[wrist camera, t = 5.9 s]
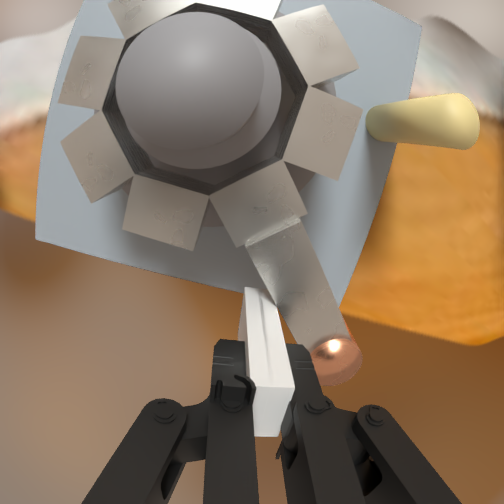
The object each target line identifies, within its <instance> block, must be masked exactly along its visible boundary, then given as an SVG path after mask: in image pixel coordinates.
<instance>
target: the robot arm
mask: <svg viewBox="0 0 504 504" xmlns="http://www.w3.org/2000/svg"><path fill="white" fill-rule="evenodd" d="M280 430H281V433H282V441H281V444H280V446H279V449H278V451H277V453H276V459H279V457H280V455H281V461H282V467H283V475H284V482H285V489H286V496H287V503H288V504H462V503H461V502H460V501H459V500H458V498H457V497H456V496H455V495H454V493H453V492H452V491H451V490H450V488H449V487H448V486H447V485H446V483H445V482H444V481H443V480H442V478H441V477H440V476H439V474H438V473H437V472H436V471H435V469H434V468H433V467H432V466H431V464H430V463H429V462H428V461H427V460H426V458H425V457H424V456H423V454H422V453H421V452H420V451H419V449H418V448H417V447H416V446H415V444H414V443H413V442H412V441H411V440H410V438H409V437H408V436H407V434H406V433H405V432H404V431H403V429H402V428H401V427H400V426H399V424H398V423H397V422H396V421H395V419H394V418H393V417H392V416H391V414H390V413H389V412H388V411H387V410H386V409H384V408H382V407H380V406H377V405H365V406H363V407H361V408H360V409H359V411H358V412H357V413H356V412H351V411H346V410H342V409H338V408H336V407H335V406H334V404H333V402H332V401H331V400H330V399H329V398H327V397H326V396H324V395H323V393H322V390H321V386H320V383H319V380H318V377H317V374H316V371H315V367H314V364H313V363H312V358H311V355H310V352H309V351H308V350H307V349H306V348H305V347H304V346H303V345H302V344H285V340H284V336H283V332H282V328H281V323H280V319H279V314H278V310H277V306H276V304H275V302H274V300H273V298H272V296H271V294H270V293H269V291H268V289H261V288H251V287H245V288H244V295H243V302H242V308H241V315H240V322H239V329H238V341H236V340H226V339H225V340H224V339H220V340H219V341H218V342H217V344H216V345H215V346H214V354H213V365H212V377H211V389H210V395H209V396H208V398H207V399H206V400H204V401H203V402H201V403H199V404H197V405H193V406H185V407H182V406H181V405H180V404H179V403H178V402H176V401H174V400H171V399H165V398H163V399H155V400H153V401H151V402H149V403H148V404H147V405H146V406H145V407H144V408H143V410H142V411H141V413H140V414H139V416H138V417H137V419H136V420H135V422H134V423H133V425H132V427H131V428H130V429H129V431H128V433H127V434H126V436H125V437H124V439H123V440H122V442H121V443H120V445H119V447H118V448H117V450H116V451H115V453H114V454H113V456H112V457H111V459H110V460H109V462H108V463H107V465H106V466H105V468H104V470H103V471H102V473H101V474H100V476H99V477H98V479H97V480H96V482H95V484H94V485H93V487H92V488H91V490H90V491H89V493H88V494H87V496H86V497H85V499H84V501H83V502H82V504H168V502H169V500H170V497H171V495H172V493H173V491H174V488H175V486H176V484H177V482H178V480H179V478H180V475H181V473H182V471H183V469H184V466H185V464H186V462H192V461H198V460H204V459H206V461H205V476H204V494H203V504H259V495H258V480H257V467H256V451H255V436H262V437H278V435H279V432H280Z"/></svg>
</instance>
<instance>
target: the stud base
mask: <svg viewBox="0 0 504 504" xmlns="http://www.w3.org/2000/svg"><path fill="white" fill-rule="evenodd" d="M112 1H113V0H84V1H83V4H82V6H81V8H80V10H79V13H78V15H77V18H76V20H75V23H74V26H73V28H72V31H71V34H70V36H69V39H68V42H67V45H66V48H65V51H64V54H63V58H62V61H61V64H60V68H59V71H58V75H57V78H56V82H55V86H54V90H53V94H52V98H51V103H50V107H49V112H48V117H47V122H46V127H45V133H44V139H43V145H42V152H41V160H40V168H39V178H38V189H37V204H36V235H35V238H36V239H37V240H40V241H44V242H47V243H50V244H54V245H57V246H60V247H64V248H67V249H71V250H74V251H78V252H81V253H85V254H88V255H92V256H95V257H99V258H103V259H106V260H110V261H114V262H117V263H121V264H125V265H129V266H132V267H136V268H140V269H144V270H148V271H152V272H156V273H160V274H164V275H168V276H172V277H176V278H180V279H184V280H189V281H192V282H196V283H201V284H205V285H209V286H213V287H218V288H222V289H226V290H231V291H235V292H240V293H244V288H245V287H251V288H261V289H267V287H266V285H265V283H264V281H263V280H262V278H261V276H260V274H259V272H258V270H257V268H256V267H255V265H254V263H253V261H252V259H251V257H250V255H249V254H248V252H247V250H246V248H245V244H244V245H242V246H239V247H237V248H236V246H235V244H234V243H233V241H232V239H231V237H230V235H229V233H228V232H227V230H226V228H225V226H224V224H223V222H222V221H221V219H220V217H219V215H218V213H217V211H216V210H215V208H214V206H213V204H212V202H210V205H209V208H208V211H207V215H206V218H205V221H204V225H203V228H202V231H201V234H200V236H199V238H198V241H197V243H196V246H195V248H194V250H193V251H191V250H187V249H184V248H181V247H177V246H174V245H171V244H168V243H164V242H161V241H158V240H155V239H151V238H148V237H145V236H142V235H139V234H135V233H132V232H129V231H126V230H123V229H122V227H123V222H124V216H125V212H126V207H127V202H128V198H129V193H130V189H131V184H132V182H131V183H129V184H128V185H126V186H125V187H123V188H122V189H120V190H118V191H117V192H115V193H113V194H111V195H109V196H106V197H104V198H102V199H100V200H98V201H96V202H94V203H92V204H91V202H90V200H89V199H88V197H87V195H86V193H85V191H84V189H83V187H82V185H81V184H80V182H79V180H78V178H77V176H76V174H75V172H74V170H73V168H72V166H71V164H70V162H69V160H68V158H67V156H66V154H65V152H64V150H63V147H62V145H61V143H60V142H61V141H62V140H63V139H64V138H65V137H67V136H68V135H69V134H70V133H71V132H73V131H74V130H75V129H76V128H78V127H79V126H80V125H81V124H83V123H84V122H85V121H87V120H88V119H89V118H91V117H92V116H93V115H95V114H96V113H97V112H99V111H100V110H95V109H89V108H84V107H78V106H72V105H66V104H59V103H58V99H59V96H60V93H61V89H62V86H63V83H64V80H65V76H66V73H67V70H68V68H69V65H70V62H71V59H72V56H73V54H74V51H75V48H76V46H77V43H78V41H79V38H80V36H95V37H108V38H119V39H125V38H124V36H123V34H122V32H121V30H120V28H119V26H118V24H117V23H116V21H115V19H114V17H113V15H112V13H111V11H110V9H109V7H108V5H107V4H108V3H110V2H112ZM195 1H196V0H195ZM322 4H324V6H325V7H326V9H327V10H328V12H329V14H330V15H331V17H332V19H333V20H334V22H335V23H336V25H337V27H338V29H339V30H340V32H341V34H342V35H343V37H344V39H345V41H346V43H347V44H348V46H349V48H350V50H351V52H352V54H353V55H354V57H355V59H356V61H357V63H358V65H359V67H360V68H359V69H357V70H356V71H354V72H352V73H350V74H348V75H347V76H345V77H343V78H341V79H340V80H337V81H335V82H332V83H329V84H327V85H324V86H321V87H319V88H316V89H319V90H321V91H324V92H326V93H328V94H331V95H333V96H335V97H338V98H340V99H342V100H344V101H347V102H349V103H351V104H353V105H355V106H357V107H359V108H362V109H364V110H363V113H362V116H361V118H360V121H359V124H358V127H357V130H356V133H355V136H354V139H353V141H352V144H351V147H350V150H349V153H348V155H347V158H346V161H345V163H344V166H343V169H342V172H341V174H340V177H339V180H338V181H336V180H333V179H331V178H328V177H326V176H323V175H321V174H318V173H315V172H313V171H310V170H308V169H305V168H302V167H299V166H297V165H294V164H291V163H288V162H286V161H284V163H285V165H286V167H287V169H288V171H289V173H290V176H291V178H292V180H293V182H294V184H295V186H296V188H297V191H298V193H299V195H300V197H301V199H302V201H303V204H304V206H305V208H306V210H307V213H308V214H306V215H304V216H302V217H300V220H301V221H302V224H303V226H304V228H305V230H306V232H307V235H308V237H309V239H310V241H311V244H312V246H313V248H314V250H315V253H316V255H317V257H318V260H319V262H320V264H321V267H322V269H323V271H324V274H325V276H326V278H327V281H328V283H329V285H330V288H331V290H332V293H333V295H334V297H335V300H336V302H337V305H338V307H339V305H340V303H341V301H342V298H343V296H344V294H345V291H346V289H347V286H348V284H349V282H350V279H351V277H352V274H353V272H354V269H355V267H356V264H357V262H358V259H359V256H360V254H361V251H362V249H363V246H364V243H365V241H366V238H367V235H368V232H369V230H370V227H371V224H372V221H373V218H374V215H375V213H376V210H377V207H378V204H379V201H380V198H381V195H382V192H383V188H384V185H385V182H386V179H387V176H388V172H389V169H390V166H391V162H392V159H393V156H394V152H395V149H396V145H397V143H409V144H419V145H429V146H438V147H446V148H454V149H461V150H466V149H469V148H471V147H472V146H473V145H474V144H475V142H476V141H477V139H478V136H479V131H480V122H479V117H478V113H477V111H476V108H475V107H474V105H473V103H472V102H471V101H470V100H469V99H468V98H467V97H466V96H464V95H462V94H459V93H451V94H443V95H436V96H428V97H422V98H415V99H409V100H408V98H409V93H410V89H411V84H412V80H413V75H414V70H415V65H416V59H417V54H418V48H419V42H420V36H421V30H422V26H420V25H418V24H417V23H415V22H413V21H411V20H409V19H408V18H406V17H404V16H402V15H400V14H398V13H396V12H394V11H392V10H390V9H388V8H386V7H384V6H382V5H380V4H378V3H376V2H373V1H371V0H283V2H282V5H281V7H280V10H279V12H278V15H277V17H276V18H279V17H282V16H285V15H288V14H291V13H294V12H298V11H301V10H304V9H308V8H311V7H315V6H319V5H322ZM116 98H117V103H118V106H119V109H120V112H121V114H122V116H123V118H124V119H125V122H126V125H127V127H128V129H129V131H130V133H131V135H132V136H133V138H134V139H135V141H136V142H137V143H138V144H139V145H140V146H141V147H142V149H144V150H145V151H146V152H147V154H148V156H149V158H150V160H151V162H152V164H153V165H154V167H155V168H159V169H162V170H166V171H169V172H173V173H176V174H180V175H183V176H187V177H190V178H194V179H197V180H200V181H204V182H207V183H210V184H214V185H216V184H218V183H220V182H222V181H224V180H226V179H228V178H230V177H232V176H234V175H236V174H238V173H240V172H242V171H244V170H246V169H248V168H250V167H252V166H254V165H256V164H258V163H260V162H262V161H264V160H266V159H268V158H270V157H273V156H274V154H275V152H276V149H277V146H278V143H279V140H280V137H281V135H282V132H283V129H284V126H285V123H286V121H287V118H288V115H289V112H290V109H291V107H292V104H293V101H294V98H295V95H294V93H293V91H292V89H291V87H290V85H289V83H288V82H287V80H286V78H285V76H284V74H283V72H282V70H281V69H280V67H279V65H278V63H277V61H276V60H275V58H274V56H273V54H272V53H271V51H270V49H269V47H268V46H267V44H266V42H263V41H261V40H260V39H259V38H257V37H256V36H255V35H254V34H252V33H251V32H249V31H248V30H246V29H244V28H242V27H241V26H239V25H238V24H236V23H235V22H233V21H231V20H229V19H227V18H225V17H222V16H220V15H216V14H212V13H206V12H187V13H181V14H176V15H173V16H169V17H167V18H164V19H162V20H160V21H158V22H156V23H154V24H153V25H151V26H150V27H148V28H147V29H145V30H144V31H143V32H142V33H141V34H140V35H139V36H137V38H136V39H135V40H134V41H133V42H132V43H131V45H130V46H129V47H128V49H127V50H126V52H125V54H124V56H123V58H122V60H121V62H120V65H119V68H118V72H117V76H116Z"/></svg>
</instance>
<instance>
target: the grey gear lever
mask: <svg viewBox="0 0 504 504" xmlns="http://www.w3.org/2000/svg"><path fill="white" fill-rule="evenodd" d="M282 2H283V0H196V1H195V0H113V1H112V2H110V3H108V4H107V5H108V7H109V9H110V11H111V13H112V15H113V17H114V19H115V21H116V23H117V24H118V26H119V28H120V30H121V32H122V34H123V36H124V38H125V39H119V38H108V37H95V36H80V38H79V41H78V43H77V46H76V48H75V51H74V54H73V56H72V59H71V62H70V65H69V68H68V70H67V73H66V76H65V80H64V83H63V86H62V89H61V93H60V96H59V99H58V103H59V104H66V105H72V106H78V107H84V108H89V109H95V110H100V111H99V112H97V113H96V114H95V115H93V116H92V117H91V118H89V119H88V120H87V121H85V122H84V123H83V124H81V125H80V126H79V127H78V128H76V129H75V130H74V131H73V132H71V133H70V134H69V135H68V136H67V137H65V138H64V139H63V140H62V141H61V142H60V143H61V145H62V147H63V150H64V152H65V154H66V156H67V158H68V160H69V162H70V164H71V166H72V168H73V170H74V172H75V174H76V176H77V178H78V180H79V182H80V184H81V185H82V187H83V189H84V191H85V193H86V195H87V197H88V199H89V200H90V202H91V204H92V203H94V202H96V201H98V200H100V199H102V198H104V197H106V196H109V195H111V194H113V193H115V192H117V191H118V190H120V189H122V188H123V187H125V186H126V185H128V184H129V183H131V182H132V184H131V189H130V193H129V198H128V202H127V207H126V212H125V216H124V222H123V227H122V229H123V230H126V231H129V232H132V233H135V234H139V235H142V236H145V237H148V238H151V239H155V240H158V241H161V242H164V243H168V244H171V245H174V246H177V247H181V248H184V249H187V250H191V251H193V250H194V248H195V246H196V243H197V241H198V238H199V236H200V234H201V231H202V228H203V225H204V221H205V218H206V215H207V211H208V208H209V205H210V202H212V204H213V206H214V208H215V210H216V211H217V213H218V215H219V217H220V219H221V221H222V222H223V224H224V226H225V228H226V230H227V232H228V233H229V235H230V237H231V239H232V241H233V243H234V244H235V246H236V248H237V247H239V246H242V245H244V244H245V248H246V250H247V252H248V254H249V255H250V257H251V259H252V261H253V263H254V265H255V267H256V268H257V270H258V272H259V274H260V276H261V278H262V280H263V281H264V283H265V285H266V287H267V289H268V291H269V293H270V294H271V296H272V298H273V300H274V302H275V304H276V305H277V307H278V309H279V311H280V313H281V315H282V316H283V318H284V320H285V322H286V324H287V326H288V327H289V329H290V331H291V333H292V335H293V337H294V339H295V340H296V342H297V344H302V345H303V346H304V347H305V348H306V349H307V350H308V351H309V352H310V355H311V358H312V363H313V364H314V367H315V371H316V374H317V377H318V380H319V383H320V385H323V386H333V385H338V384H341V383H343V382H345V381H347V380H349V379H350V378H351V377H353V376H354V375H355V374H356V373H357V371H358V370H359V369H360V367H361V365H362V354H361V351H360V350H359V348H358V346H357V344H356V342H355V340H354V338H353V336H352V334H351V332H350V330H349V328H348V326H347V324H346V323H345V321H344V319H343V317H342V315H341V312H340V310H339V307H338V305H337V302H336V300H335V297H334V295H333V293H332V290H331V288H330V285H329V283H328V281H327V278H326V276H325V274H324V271H323V269H322V267H321V264H320V262H319V260H318V257H317V255H316V253H315V250H314V248H313V246H312V244H311V241H310V239H309V237H308V235H307V232H306V230H305V228H304V226H303V224H302V221H301V220H300V217H302V216H304V215H306V214H308V213H307V210H306V208H305V206H304V204H303V201H302V199H301V197H300V195H299V193H298V191H297V188H296V186H295V184H294V182H293V180H292V178H291V176H290V173H289V171H288V169H287V167H286V165H285V163H284V161H286V162H288V163H291V164H294V165H297V166H299V167H302V168H305V169H308V170H310V171H313V172H315V173H318V174H321V175H323V176H326V177H328V178H331V179H333V180H336V181H338V180H339V177H340V174H341V172H342V169H343V166H344V163H345V161H346V158H347V155H348V153H349V150H350V147H351V144H352V141H353V139H354V136H355V133H356V130H357V127H358V124H359V121H360V118H361V116H362V113H363V110H364V109H362V108H359V107H357V106H355V105H353V104H351V103H349V102H347V101H344V100H342V99H340V98H338V97H335V96H333V95H331V94H328V93H326V92H324V91H321V90H319V89H316V88H319V87H321V86H324V85H327V84H329V83H332V82H335V81H337V80H340V79H341V78H343V77H345V76H347V75H348V74H350V73H352V72H354V71H356V70H357V69H359V68H360V67H359V65H358V63H357V61H356V59H355V57H354V55H353V54H352V52H351V50H350V48H349V46H348V44H347V43H346V41H345V39H344V37H343V35H342V34H341V32H340V30H339V29H338V27H337V25H336V23H335V22H334V20H333V19H332V17H331V15H330V14H329V12H328V10H327V9H326V7H325V6H324V4H322V5H319V6H315V7H311V8H308V9H304V10H301V11H298V12H294V13H291V14H288V15H285V16H282V17H279V18H276V17H277V15H278V12H279V10H280V7H281V5H282ZM187 12H206V13H212V14H216V15H220V16H222V17H225V18H227V19H229V20H231V21H233V22H235V23H236V24H238V25H239V26H241V27H242V28H244V29H246V30H248V31H249V32H251V33H252V34H254V35H255V36H256V37H257V38H259V39H260V40H261V41H263V42H266V44H267V46H268V47H269V49H270V51H271V53H272V54H273V56H274V58H275V60H276V61H277V63H278V65H279V67H280V69H281V70H282V72H283V74H284V76H285V78H286V80H287V82H288V83H289V85H290V87H291V89H292V91H293V93H294V95H295V98H294V101H293V104H292V107H291V109H290V112H289V115H288V118H287V121H286V123H285V126H284V129H283V132H282V135H281V137H280V140H279V143H278V146H277V149H276V152H275V154H274V156H273V157H270V158H268V159H266V160H264V161H262V162H260V163H258V164H256V165H254V166H252V167H250V168H248V169H246V170H244V171H242V172H240V173H238V174H236V175H234V176H232V177H230V178H228V179H226V180H224V181H222V182H220V183H218V184H216V185H214V184H210V183H207V182H204V181H200V180H197V179H194V178H190V177H187V176H183V175H180V174H176V173H173V172H169V171H166V170H162V169H159V168H155V167H154V165H153V164H152V162H151V160H150V158H149V156H148V154H147V152H146V151H145V150H144V149H142V147H141V146H140V145H139V144H138V143H137V142H136V141H135V139H134V138H133V136H132V135H131V133H130V131H129V129H128V127H127V125H126V122H125V119H124V118H123V116H122V114H121V112H120V109H119V106H118V103H117V98H116V76H117V72H118V68H119V65H120V62H121V60H122V58H123V56H124V54H125V52H126V50H127V49H128V47H129V46H130V45H131V43H132V42H133V41H134V40H135V39H136V38H137V36H139V35H140V34H141V33H142V32H143V31H144V30H145V29H147V28H148V27H150V26H151V25H153V24H154V23H156V22H158V21H160V20H162V19H164V18H167V17H169V16H173V15H176V14H181V13H187Z"/></svg>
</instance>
